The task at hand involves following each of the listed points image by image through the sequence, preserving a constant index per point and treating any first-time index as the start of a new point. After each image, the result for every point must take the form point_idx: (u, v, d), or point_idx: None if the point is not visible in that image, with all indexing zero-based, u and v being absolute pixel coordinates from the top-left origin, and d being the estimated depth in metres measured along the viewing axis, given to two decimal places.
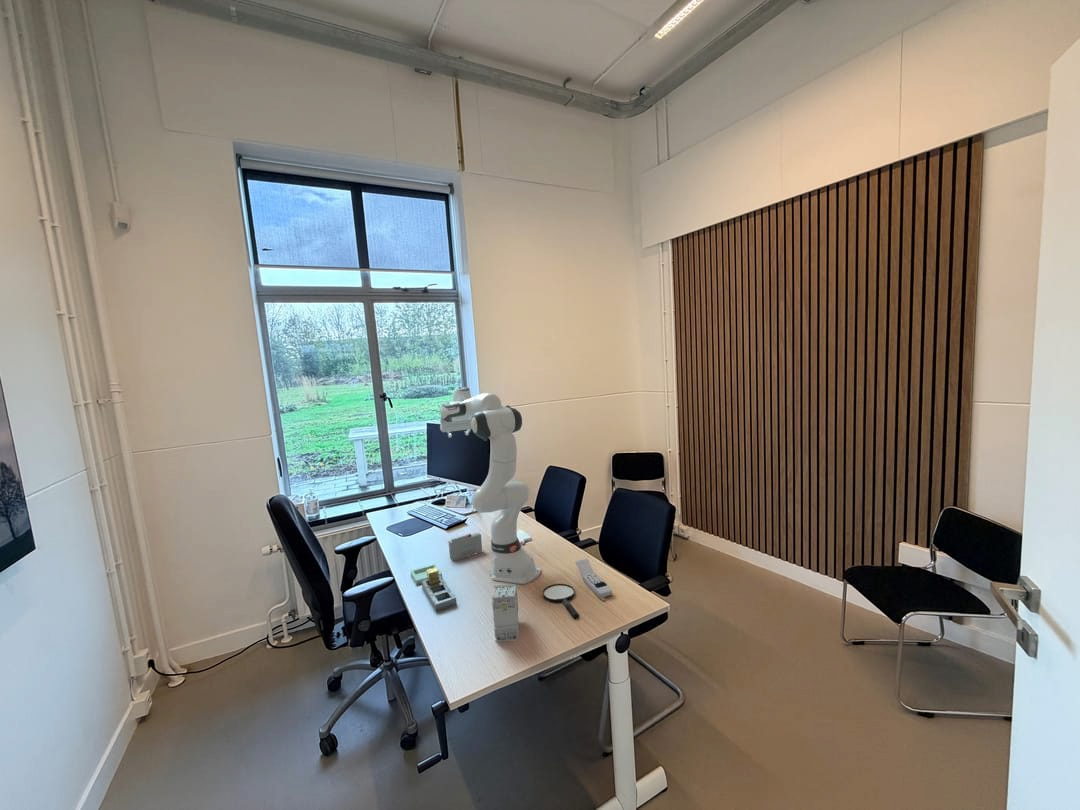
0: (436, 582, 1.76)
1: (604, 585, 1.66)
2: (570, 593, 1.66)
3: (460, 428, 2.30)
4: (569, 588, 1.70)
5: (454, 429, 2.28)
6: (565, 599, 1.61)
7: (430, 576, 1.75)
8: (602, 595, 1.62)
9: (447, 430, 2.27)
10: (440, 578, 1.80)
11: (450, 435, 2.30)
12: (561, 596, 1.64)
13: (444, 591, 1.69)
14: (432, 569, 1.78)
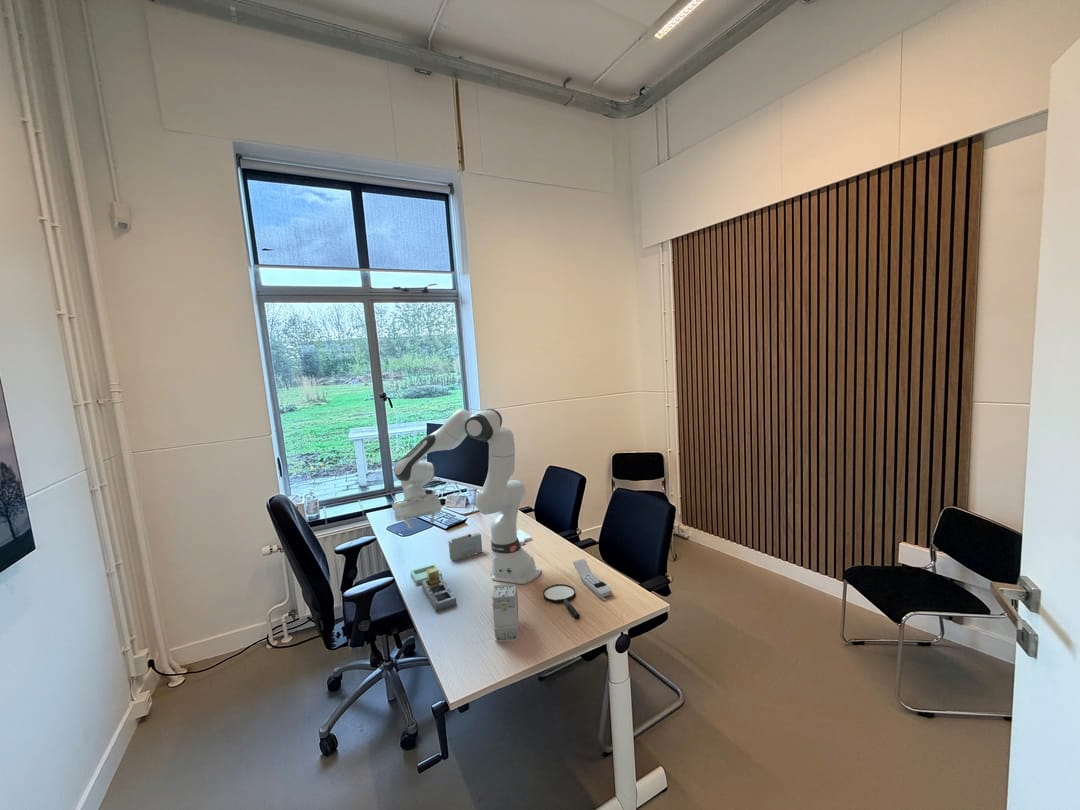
0: (436, 582, 1.76)
1: (603, 585, 1.66)
2: (571, 593, 1.66)
3: (419, 510, 1.89)
4: (570, 589, 1.69)
5: (412, 512, 1.88)
6: (566, 599, 1.60)
7: (430, 576, 1.75)
8: (602, 595, 1.62)
9: (403, 514, 1.86)
10: (440, 578, 1.80)
11: (410, 523, 1.85)
12: (562, 596, 1.64)
13: (444, 591, 1.69)
14: (432, 569, 1.78)
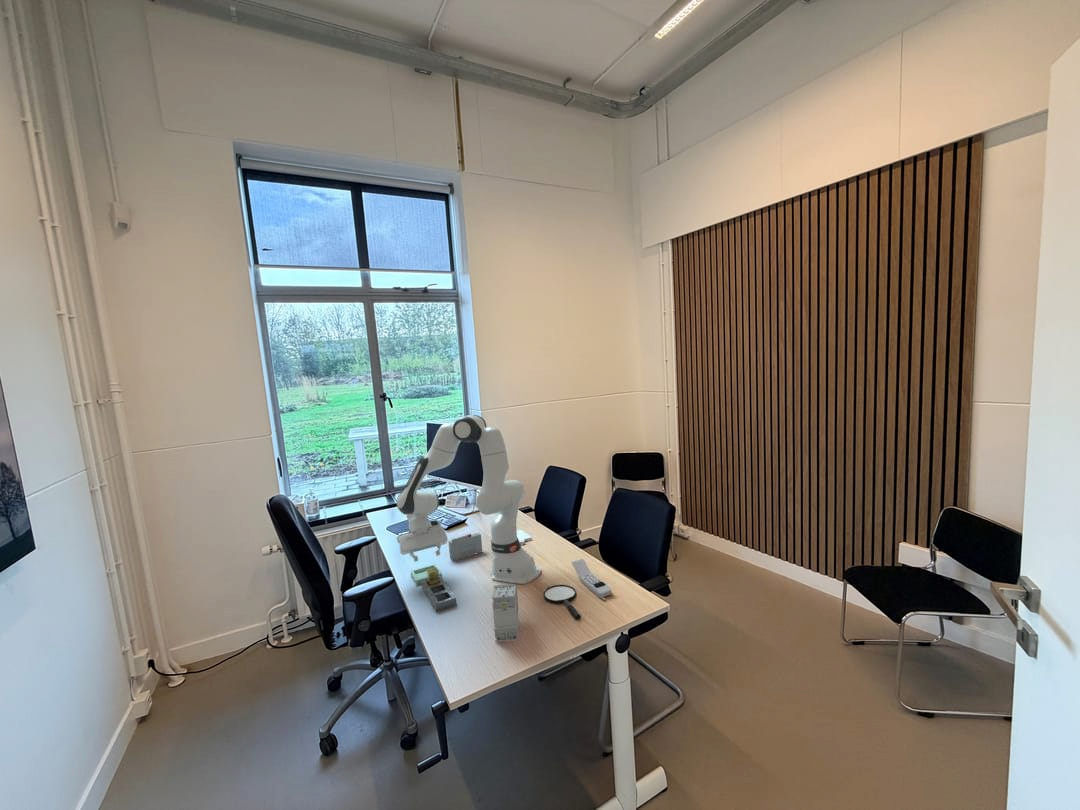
0: (436, 582, 1.76)
1: (603, 585, 1.66)
2: (571, 594, 1.65)
3: (425, 543, 1.86)
4: (570, 589, 1.69)
5: (417, 545, 1.84)
6: (566, 600, 1.60)
7: (430, 576, 1.75)
8: (602, 595, 1.62)
9: (408, 547, 1.82)
10: (440, 578, 1.80)
11: (415, 556, 1.81)
12: (562, 597, 1.64)
13: (444, 591, 1.69)
14: (432, 569, 1.78)
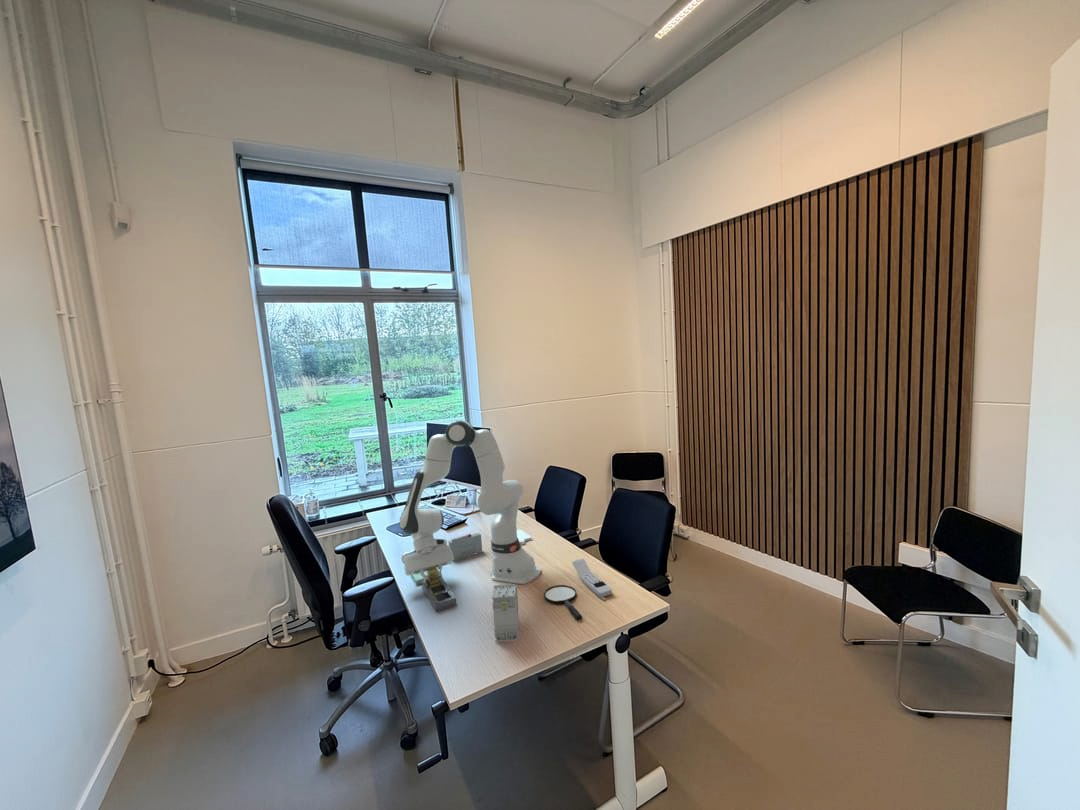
0: (436, 582, 1.76)
1: (603, 584, 1.66)
2: (572, 594, 1.65)
3: (430, 563, 1.79)
4: (571, 590, 1.69)
5: (423, 565, 1.78)
6: (567, 601, 1.60)
7: (430, 576, 1.75)
8: (602, 595, 1.62)
9: (413, 568, 1.76)
10: (440, 578, 1.80)
11: (426, 576, 1.76)
12: (563, 598, 1.63)
13: (444, 591, 1.69)
14: (432, 569, 1.78)
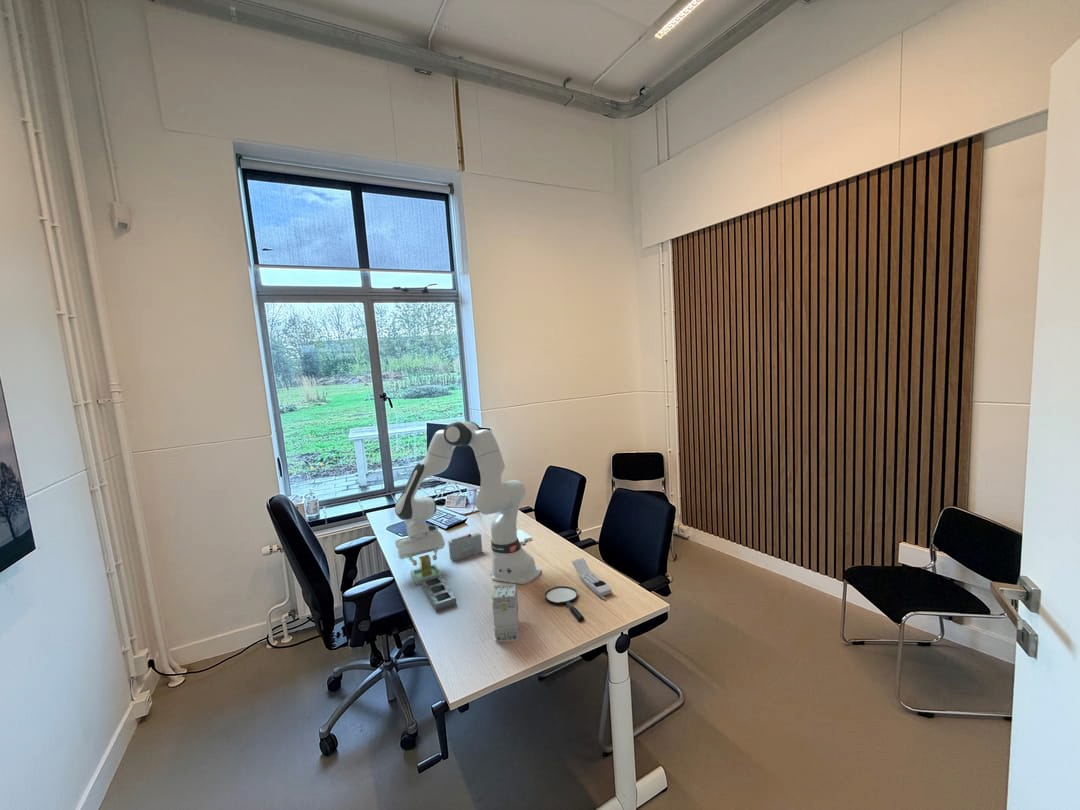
0: (428, 568, 1.88)
1: (603, 584, 1.67)
2: (573, 595, 1.64)
3: (423, 547, 1.91)
4: (572, 591, 1.68)
5: (415, 550, 1.89)
6: (569, 602, 1.59)
7: (422, 563, 1.86)
8: (602, 594, 1.62)
9: (406, 552, 1.87)
10: (440, 578, 1.80)
11: (414, 560, 1.87)
12: (564, 599, 1.62)
13: (444, 591, 1.69)
14: (424, 556, 1.89)
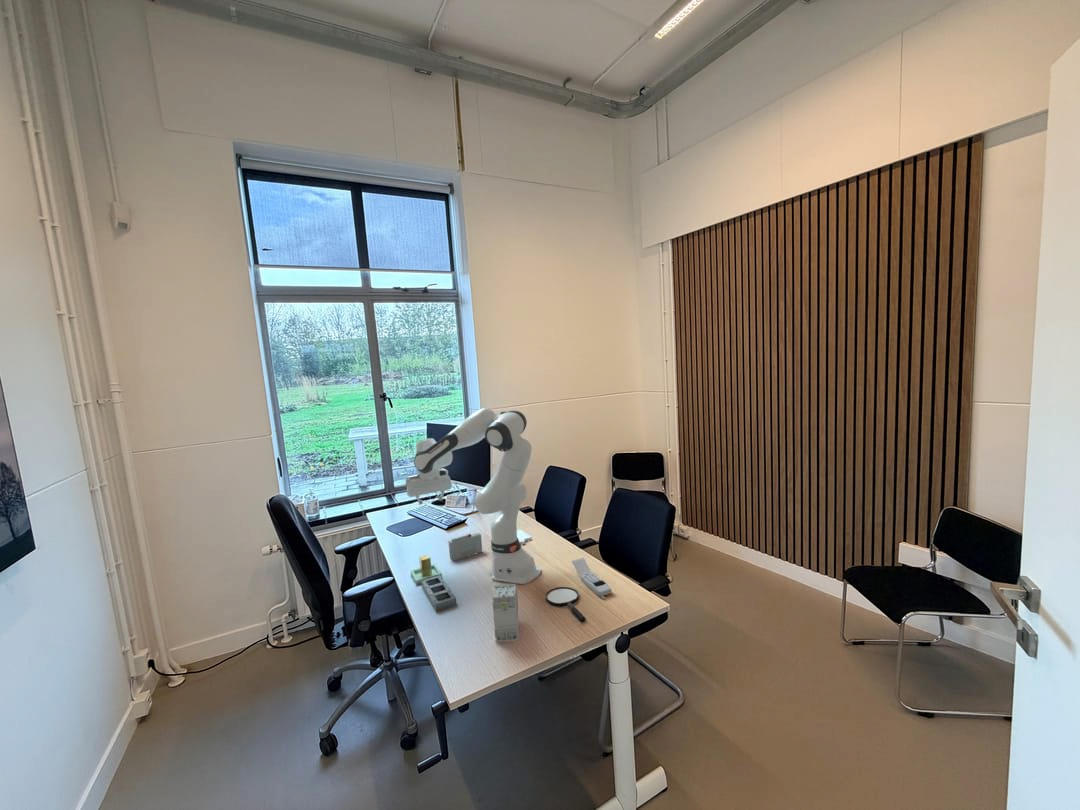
0: (428, 568, 1.88)
1: (603, 583, 1.67)
2: (574, 596, 1.64)
3: (431, 490, 1.98)
4: (573, 591, 1.67)
5: (424, 492, 1.97)
6: (570, 603, 1.58)
7: (422, 563, 1.86)
8: (602, 593, 1.63)
9: (415, 493, 1.95)
10: (440, 578, 1.80)
11: (420, 501, 1.97)
12: (565, 600, 1.62)
13: (444, 591, 1.69)
14: (424, 556, 1.89)
